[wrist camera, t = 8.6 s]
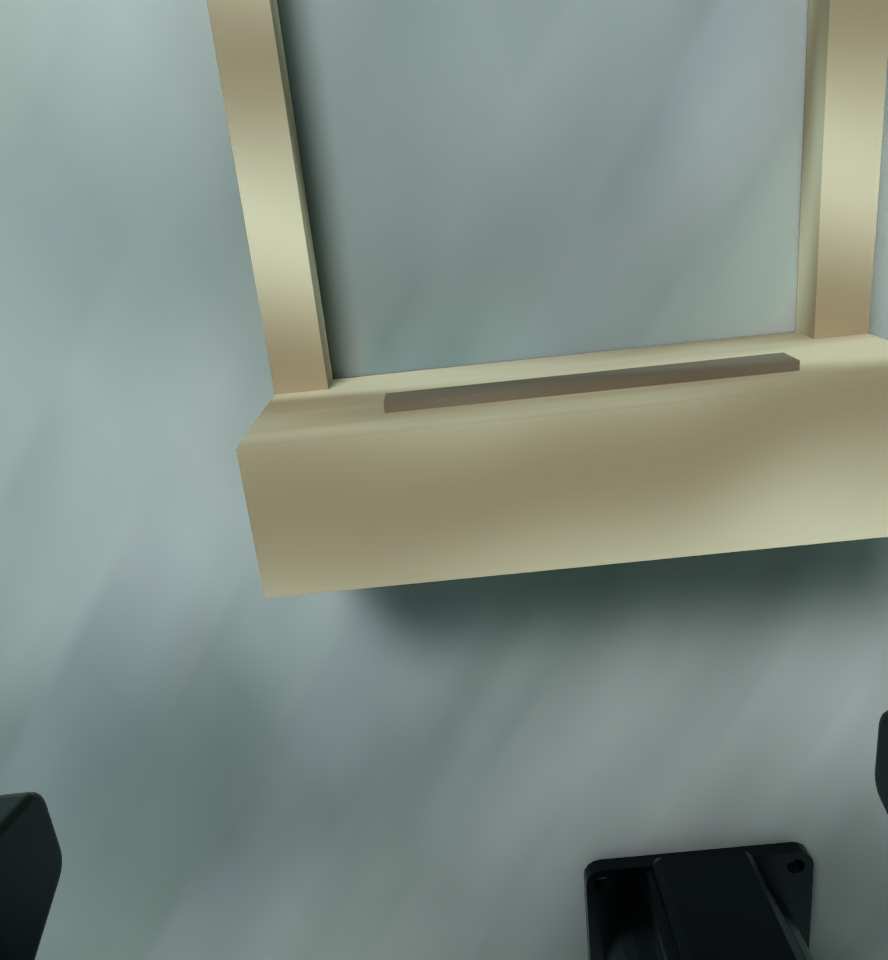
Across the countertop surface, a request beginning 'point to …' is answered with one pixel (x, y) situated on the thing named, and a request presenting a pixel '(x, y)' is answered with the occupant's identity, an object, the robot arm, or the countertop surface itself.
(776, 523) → the open rectangular frame
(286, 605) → the countertop surface
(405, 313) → the countertop surface
